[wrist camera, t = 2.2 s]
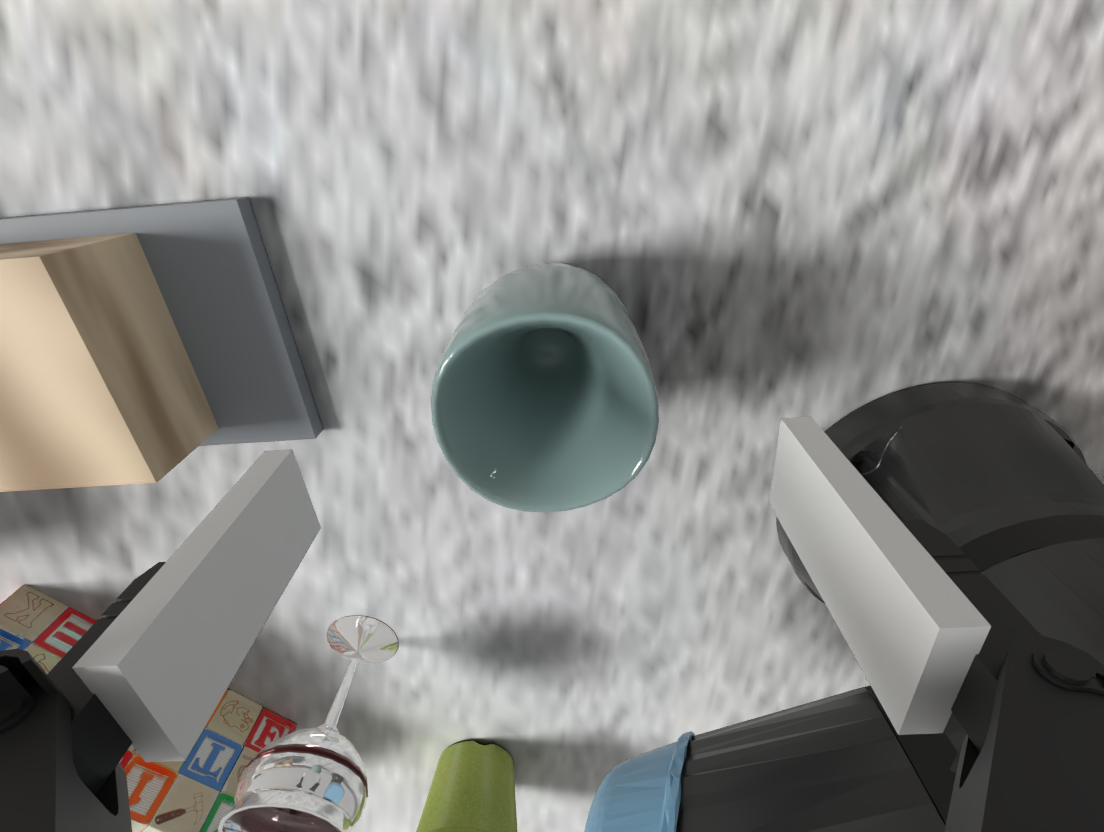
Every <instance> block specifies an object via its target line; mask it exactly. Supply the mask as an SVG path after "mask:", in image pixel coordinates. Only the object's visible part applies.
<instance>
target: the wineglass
mask: <svg viewBox="0 0 1104 832" xmlns="http://www.w3.org/2000/svg"><path fill="white" fill-rule="evenodd" d="M327 639H328V642H329V644H330V646H331V648H332V649H333V650H334V651H335V652H336V653H338V654H339V655H340V656H342V657H344V658H346V659H348V660H351V663H350V665H349V667H348V670H347V672H346V674H345V676H344V679H343V681H342V683H341V685H340V688H339V690H338V692H337V694H336V697H335V699H334V701H333V703H332V706H331V708H330V710H329V712H328V715H327V717H326V719H325V721H324V724H321V725H319V726H317V727H316V728H305V729H299V730H297V731H294V732H291V733H289V734H287V735H285V736H283V737H281V738H278V739H276V740H274V741H272V742H270V743H269V744H268V745H267V746H265V747H264V748H263V749H262V750H261V751H260V752H259V753H258V754H257V755H256V756H255V757H254V758H253V759H252V760H251V761H250V762H249V764H248V765H247V766H246V769H245V771H244V772H243V774H242V775H241V778H240V780H239V783H238V786H237V790H236V793H235V797H234V802H235V807H234V808H233V809H232V810H231V811H230V812H229V813H227V814H226V815H225V816H224V817H223V818H222V819H221V821H220V824H219V827H218V831H219V832H350V831H351V830H352V829H353V828H354V827H355V826H356V824H357V822H358V820H359V819H360V817H361V815H362V813H363V810H364V808H365V806H366V799H367V797H368V786H367V769H366V766H365V764H364V762H363V761H362V759H361V757H360V755H359V754H358V752H357V750H356V748H355V747H354V745H353V744H352V742H350V741H349V740H348V739H347V738H346V737H344V736H342V735H340V733H339V730H338V729H337V728H336V726H337V723H338V720H339V717H340V714H341V711H342V708H343V705H344V702H345V699H346V696H347V693H348V690H349V687H350V684H351V681H352V678H353V675H354V672H355V669H356V666H357V663H365V664H373V663H380V662H383V661H385V660H388V659H389V658H391V657H392V656H393V655H394V654H395V652H396V650H397V648H398V640H397V637H396V635H395V633H394V632H393V631H392V630H391V629H390V628H389V627H388V626H387V625H385V624H384V623H382V622H380V621H379V620H376V619H373V618H370V617H366V616H356V615H355V616H347V617H343V618H341V619H338V620H336V621H335V622H334V623H333V624H332V625H330V627H329V629H328V632H327Z"/></svg>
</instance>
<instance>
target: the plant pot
mask: <svg viewBox="0 0 1104 832" xmlns="http://www.w3.org/2000/svg"><path fill="white" fill-rule="evenodd" d="M416 832H517V818H516V802H515V782H514V765H513V760H512V757H511V756H510V754H509V753H508V752H507V751H505V750H504V749H503V748H501V747H499V746H497V745H494V744H489V745H480V744H478V743H476V742H475V741H465V742H460V743H457V744H454V745H452V746H450V747H448V748H447V749H445V750H444V751H443V753H442V755H441V757H440V759H439V762H438V765H437V768H436V771H435V775H434V778H433V781H432V784H431V788H430V791H429V794H428V797H427V800H426V803H425V806H424V810H423V813H422V816H421V819H420V822H419V825H418V828H417V831H416Z"/></svg>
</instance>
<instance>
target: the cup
mask: <svg viewBox="0 0 1104 832" xmlns="http://www.w3.org/2000/svg"><path fill="white" fill-rule="evenodd" d="M431 410H432V422H433V426H434V430H435V434H436V438H437V441H438V443H439V446H440V448H441V450H442V452H443V454H444V456H445V459H446V460H447V462H448V463H449V464H450V466H451V467H452V469H453V470H454V472H455V473H456V474H457V476H458V477H459V478H460V479H461V480H462V481H463V482H464V483H465V484H466V485H467V486H469V487H470V488H471V489H472V490H473V491H475V492H476V493H478V494H479V495H481V496H482V497H484V498H485V499H487V500H489V501H491V502H494V503H496V504H499V505H501V506H504V507H507V508H512V509H517V510H521V511H529V512H555V511H566V510H571V509H575V508H579V507H584V506H587V505H590V504H593V503H595V502H598V501H600V500H603V499H605V498H607V497H609V496H611V495H612V494H614V493H616V492H617V491H619V490H621V489H622V488H624V487H625V486H626V485H627V484H628V483H629V482H630V481H632V480H633V479H634V478H635V477H636V476H637V475H638V474H639V472H640V471H641V469H642V468H643V467H644V465H645V464H646V462H647V461H648V459H649V457H650V454H651V452H652V449H653V447H654V444H655V441H656V435H657V429H658V423H659V405H658V394H657V389H656V385H655V380H654V376H653V372H652V368H651V365H650V362H649V359H648V357H647V354H646V352H645V349H644V346H643V344H642V341H641V339H640V337H639V334H638V332H637V330H636V328H635V325H634V323H633V321H632V319H631V317H630V314H629V312H628V311H627V309H626V307H625V306H624V305H623V303H622V302H621V300H620V299H619V298H618V296H617V295H616V293H615V292H614V291H613V289H612V288H610V287H609V286H608V285H607V284H606V283H605V282H604V281H603V280H601V279H600V278H599V277H598V276H597V275H595V274H593V273H591V272H589V271H587V270H585V269H583V268H580V267H576V266H572V265H568V264H559V263H545V264H536V265H530V266H527V267H524V268H520V269H517V270H514V271H512V272H510V273H508V274H506V275H504V276H502V277H500V278H499V279H497V280H496V281H495V282H493V283H492V284H491V285H490V286H488V287H487V288H486V289H485V290H483V291H482V292H481V293H480V294H479V296H478V297H477V298H476V299H475V301H474V302H473V303H472V305H471V306H470V307H469V308H468V310H467V311H466V312H465V314H464V315H463V317H462V318H461V320H460V322H459V324H458V325H457V327H456V329H455V331H454V333H453V335H452V337H451V338H450V340H449V342H448V344H447V346H446V349H445V351H444V353H443V356H442V358H441V360H440V363H439V365H438V367H437V370H436V372H435V376H434V381H433V387H432V394H431Z"/></svg>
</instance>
